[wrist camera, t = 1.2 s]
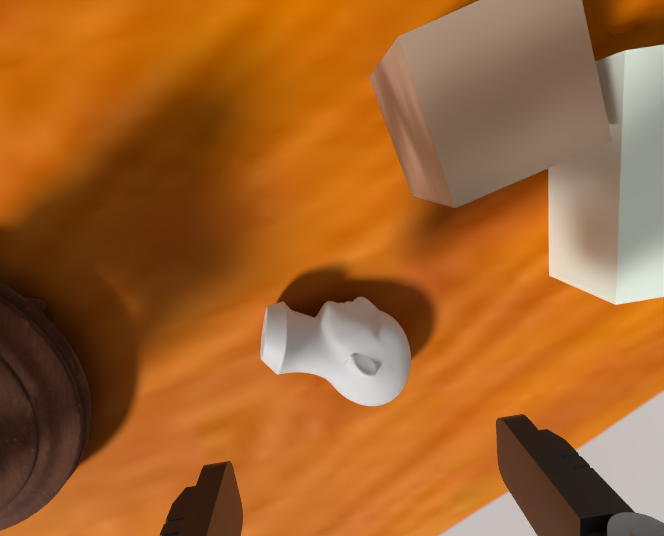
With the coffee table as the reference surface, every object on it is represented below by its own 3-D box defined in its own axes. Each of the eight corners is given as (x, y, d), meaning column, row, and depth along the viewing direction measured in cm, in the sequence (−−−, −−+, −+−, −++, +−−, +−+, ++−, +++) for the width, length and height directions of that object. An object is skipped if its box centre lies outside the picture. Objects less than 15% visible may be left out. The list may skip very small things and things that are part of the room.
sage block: (544, 80, 19) (624, 50, 14) (701, 56, 19) (832, 18, 15) (546, 274, 22) (615, 304, 17) (685, 251, 22) (792, 274, 17)
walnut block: (368, 77, 18) (398, 36, 13) (487, 24, 18) (572, -42, 12) (411, 196, 20) (455, 208, 14) (522, 148, 20) (612, 140, 14)
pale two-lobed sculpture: (407, 317, 23) (377, 401, 22) (280, 266, 22) (244, 354, 21) (443, 326, 19) (407, 430, 18) (288, 263, 17) (243, 373, 17)
